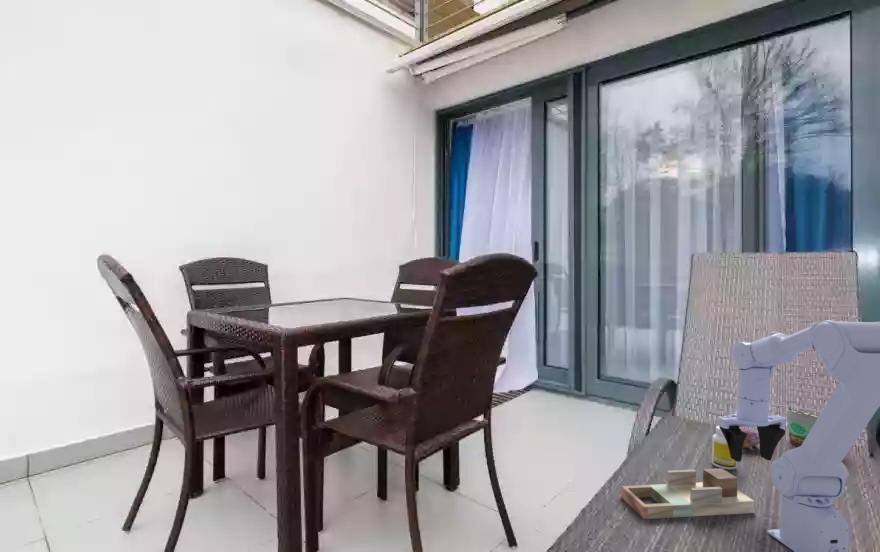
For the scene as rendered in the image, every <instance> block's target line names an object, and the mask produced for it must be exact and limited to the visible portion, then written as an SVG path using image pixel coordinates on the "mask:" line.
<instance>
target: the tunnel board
mask: <svg viewBox="0 0 880 552" xmlns="http://www.w3.org/2000/svg"><path fill="white" fill-rule="evenodd" d="M620 497H621V499H623V501H625V502H626V504H627V505H629V506H630V508H631V509H632V510H633V511H635V512H636V513H637V514H638V515H639V516H640V517H641V518H642V519H643V520H652V519H653V520H654V519H655V520H656V519H669V518H670V519H672V518H686V517H687V518H688V517H705V516H707V517H708V516H709V517H710V516H721V515H722V516H723V515H741V514H755V502H756V501H755V500H754V499H752V498H751V497H749V496H748V495H746V494H744V493H743V492H741V491H739V490H738V489H737V497H722V488H721V487H703V481H700V482H697V470H695V469H679V470H677V469H675V470H667V471H666V483H661V484H660V483H659V484H637V485H635V484H634V485H622V486H621V496H620Z"/></svg>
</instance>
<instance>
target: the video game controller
mask: <svg viewBox="0 0 880 552" xmlns="http://www.w3.org/2000/svg"><path fill="white" fill-rule="evenodd" d="M739 429H741V431H742V432H744V433H746V434H747V436H746V438H745V440H744V444H743V448H744V449H749V448H751V447H756V446H758V445H760V441H759V434H758V432H756V431H755V430H754V429H751V430H749V429H747V428H745V427H740V428H739Z"/></svg>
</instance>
